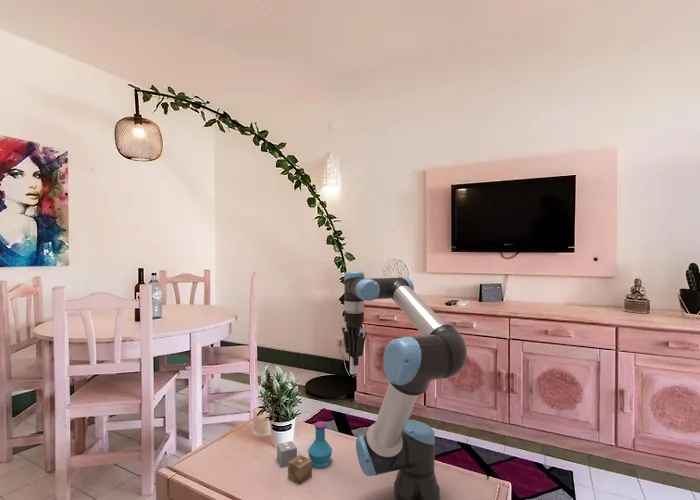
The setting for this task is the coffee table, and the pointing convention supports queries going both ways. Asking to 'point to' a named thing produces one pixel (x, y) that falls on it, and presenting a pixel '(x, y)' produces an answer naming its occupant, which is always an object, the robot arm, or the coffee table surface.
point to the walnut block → (300, 469)
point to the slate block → (286, 453)
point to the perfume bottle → (320, 447)
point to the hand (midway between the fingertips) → (353, 373)
